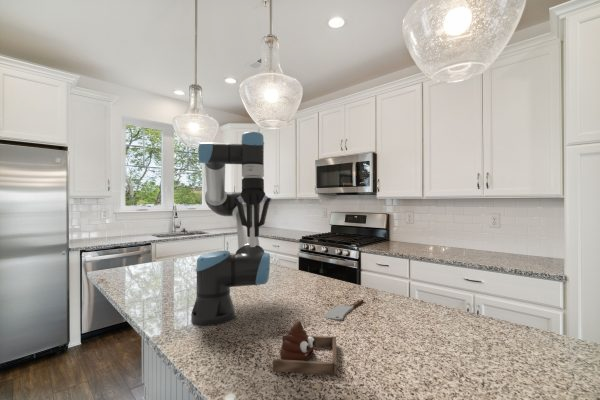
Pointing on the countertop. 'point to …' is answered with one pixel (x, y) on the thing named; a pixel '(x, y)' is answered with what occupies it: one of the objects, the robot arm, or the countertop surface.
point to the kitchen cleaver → (341, 311)
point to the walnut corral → (310, 366)
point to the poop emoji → (297, 344)
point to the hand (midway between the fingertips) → (253, 246)
